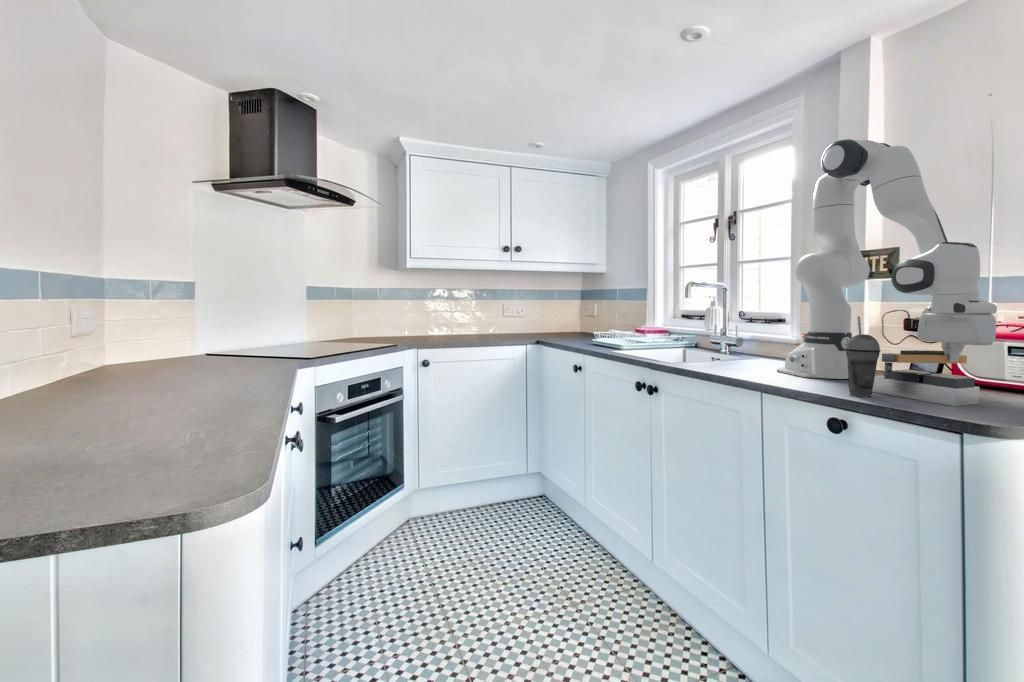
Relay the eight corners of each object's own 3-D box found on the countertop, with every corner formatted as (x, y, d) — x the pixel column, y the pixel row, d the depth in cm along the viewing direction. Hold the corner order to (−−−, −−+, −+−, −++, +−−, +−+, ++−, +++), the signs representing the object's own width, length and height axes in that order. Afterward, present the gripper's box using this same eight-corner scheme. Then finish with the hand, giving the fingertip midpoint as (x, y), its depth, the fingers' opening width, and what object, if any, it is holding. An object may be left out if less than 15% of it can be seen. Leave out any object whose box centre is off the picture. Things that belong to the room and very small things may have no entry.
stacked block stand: (868, 391, 132) (869, 362, 131) (890, 389, 134) (891, 361, 134) (954, 406, 113) (956, 372, 112) (978, 404, 115) (980, 371, 115)
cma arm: (887, 362, 128) (888, 350, 128) (877, 360, 133) (878, 349, 133) (966, 363, 126) (967, 351, 126) (953, 361, 131) (953, 350, 130)
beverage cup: (876, 399, 120) (880, 317, 119) (840, 395, 125) (844, 316, 124) (879, 395, 126) (884, 316, 124) (845, 392, 131) (849, 315, 129)
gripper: (911, 306, 136) (909, 357, 136) (974, 306, 115) (971, 365, 116) (936, 306, 135) (933, 357, 136) (1003, 306, 115) (1000, 365, 115)
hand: (951, 361), depth 126 cm, fingers closed
